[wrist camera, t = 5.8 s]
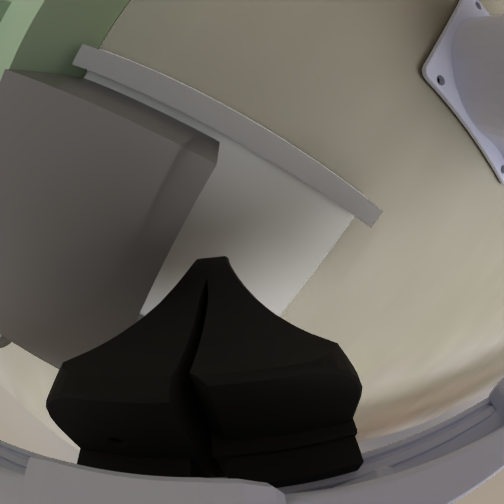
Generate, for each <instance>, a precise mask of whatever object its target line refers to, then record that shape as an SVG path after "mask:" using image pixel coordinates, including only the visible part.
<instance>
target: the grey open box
mask: <svg viewBox="0 0 504 504" xmlns="http://www.w3.org/2000/svg"><path fill="white" fill-rule="evenodd" d="M219 144H220V142H219V141H217V140H215V139H214V138H212V137H210V136H208V135H206V134H204V133H202V132H200V131H198V130H197V129H195V128H193V127H191V126H189V125H187V124H185V123H183V122H181V121H179V120H177V119H175V118H173V117H171V116H169V115H167V114H165V113H163V112H161V111H159V110H157V109H154V108H152V107H150V106H148V105H146V104H144V103H142V102H139V101H137V100H135V99H133V98H131V97H128V96H126V95H124V94H122V93H119V92H117V91H115V90H112V89H110V88H108V87H105V86H103V85H101V84H98V83H96V82H93V81H91V80H88V79H86V78H80V77H74V76H68V75H61V74H54V73H46V72H37V71H27V70H15V69H5V70H4V73H3V75H2V78H1V81H0V334H1V335H3V336H4V337H6V338H7V339H9V340H10V341H12V342H13V343H15V344H16V345H18V346H20V347H21V348H23V349H25V350H26V351H28V352H30V353H31V354H33V355H35V356H36V357H38V358H40V359H42V360H43V361H45V362H47V363H49V364H51V365H52V366H54V367H56V368H58V369H60V367H61V365H62V363H63V362H65V361H67V360H70V359H72V358H74V357H76V356H79V355H81V354H83V353H85V352H88V351H90V350H92V349H94V348H96V347H98V346H100V345H102V344H103V343H105V342H107V341H109V340H110V339H112V338H114V337H115V336H117V335H119V334H120V333H122V332H123V331H125V330H126V329H127V328H129V327H130V326H132V325H133V324H134V323H136V320H137V318H138V316H139V314H140V311H141V309H142V307H143V305H144V303H145V301H146V298H147V296H148V294H149V292H150V290H151V288H152V286H153V284H154V281H155V279H156V277H157V275H158V273H159V271H160V269H161V267H162V265H163V263H164V261H165V259H166V257H167V255H168V253H169V251H170V249H171V247H172V245H173V243H174V241H175V239H176V237H177V236H178V234H179V232H180V230H181V228H182V226H183V224H184V222H185V220H186V219H187V217H188V215H189V213H190V211H191V209H192V207H193V206H194V204H195V202H196V200H197V198H198V197H199V195H200V193H201V191H202V189H203V188H204V186H205V184H206V182H207V181H208V179H209V177H210V175H211V174H212V172H213V170H214V169H215V167H216V165H217V159H218V152H219Z"/></svg>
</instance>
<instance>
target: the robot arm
mask: <svg viewBox="0 0 504 504" xmlns="http://www.w3.org/2000/svg"><path fill="white" fill-rule="evenodd" d="M422 74H423V77H424V78H425V80H426V81H427V82H428V83H429V84H430V85H431V86H432V87H433V88H434V90H435V91H436V92H437V93H438V94H439V95H440V96H441V98H442V99H443V100H444V101H445V102H446V104H447V105H448V106H449V107H450V108H451V110H452V111H453V112H454V114H455V115H456V116H457V117H458V119H459V120H460V121H461V123H462V124H463V125H464V127H465V128H466V129H467V131H468V132H469V133H470V135H471V136H472V138H473V139H474V141H475V142H476V144H477V145H478V146H479V148H480V149H481V151H482V153H483V154H484V156H485V157H486V159H487V160H488V162H489V164H490V165H491V167H492V169H493V170H494V172H495V174H496V175H497V177H498V179H499V181H500V182H501V184H502V185H503V186H504V14H502V15H493V16H490V14H489V13H488V12H487V10H486V9H485V8H484V7H483V5H482V4H481V3H480V2H479V0H460V1H459V3H458V4H457V6H456V8H455V10H454V12H453V14H452V16H451V17H450V19H449V21H448V23H447V25H446V26H445V28H444V30H443V32H442V34H441V35H440V37H439V39H438V41H437V42H436V44H435V46H434V48H433V49H432V51H431V53H430V55H429V56H428V58H427V60H426V61H425V63H424V65H423V67H422ZM437 76H438V78H439V81H440V83H439V84H438V82H437ZM361 393H362V385H361V382H360V379H359V377H358V374H357V372H356V371H355V369H354V367H353V365H352V364H351V362H350V361H349V359H348V358H347V356H346V355H345V353H344V352H343V350H342V349H341V348H340V346H339V345H338V344H337V343H335V342H332V341H330V340H327V339H324V338H321V337H319V336H316V335H313V334H311V333H308V332H306V331H304V330H302V329H300V328H298V327H296V326H294V325H292V324H290V323H288V322H287V321H285V320H284V319H282V318H280V317H279V316H277V315H276V314H274V313H273V312H272V311H270V310H269V309H268V308H267V307H265V306H264V305H263V304H262V303H261V302H260V301H259V300H258V299H256V298H255V297H254V296H253V294H252V293H251V292H250V291H249V290H248V289H247V288H246V287H245V285H244V284H243V283H242V282H241V280H240V279H239V278H238V276H237V275H236V273H235V272H234V270H233V268H232V267H231V265H230V262H229V258H227V257H226V256H220V257H211V258H201V259H197V260H196V261H195V262H194V263H193V264H192V266H191V267H190V268H189V270H188V271H187V272H186V273H185V275H184V276H183V277H182V278H181V280H180V281H179V282H178V283H177V284H176V286H175V287H174V288H173V289H172V290H171V291H170V292H169V293H168V294H167V296H166V297H165V298H164V299H163V300H162V301H161V302H160V303H159V304H158V305H157V306H156V307H154V308H153V309H152V310H151V311H150V312H149V313H147V314H146V315H145V316H144V317H143V318H141V319H140V320H139V321H137V322H136V323H134V324H133V325H132V326H130V327H129V328H127V329H126V330H125V331H123V332H122V333H120V334H119V335H117V336H115V337H114V338H112V339H110V340H109V341H107V342H105V343H103V344H102V345H100V346H98V347H96V348H94V349H92V350H90V351H88V352H85V353H83V354H81V355H79V356H76V357H74V358H72V359H70V360H67V361H65V362H63V363H62V365H61V367H60V370H59V372H58V374H57V376H56V379H55V381H54V383H53V386H52V388H51V390H50V393H49V395H48V398H47V400H46V408H47V410H48V412H49V415H50V417H51V418H52V419H53V421H54V422H55V423H56V424H57V426H58V427H59V428H60V429H61V430H62V431H63V432H64V433H65V434H66V435H67V436H68V437H69V438H70V439H71V440H73V441H74V442H75V443H76V444H77V445H78V446H79V447H80V448H81V449H80V453H79V457H78V462H77V464H74V463H69V462H65V461H61V460H58V459H54V458H49V457H45V456H42V455H39V454H36V453H33V452H30V451H27V450H24V449H21V448H18V447H16V446H13V445H11V444H8V443H6V442H3V441H1V440H0V504H452V503H454V502H456V501H458V500H459V499H461V498H462V497H464V496H466V495H467V494H469V493H470V492H471V491H473V490H475V489H476V488H477V487H479V486H480V485H482V484H483V483H485V482H486V481H487V480H489V479H490V478H491V477H493V476H494V475H495V474H497V473H498V472H499V471H501V470H502V469H503V468H504V378H503V379H502V380H500V381H499V382H498V383H497V385H496V386H495V387H494V388H493V390H492V391H491V393H490V394H489V397H488V398H487V399H485V400H483V401H481V402H480V403H478V404H476V405H474V406H473V407H471V408H469V409H467V410H465V411H464V412H462V413H460V414H458V415H456V416H454V417H452V418H451V419H448V420H446V421H444V422H442V423H440V424H438V425H436V426H434V427H431V428H429V429H427V430H425V431H422V432H420V433H418V434H415V435H413V436H410V437H408V438H406V439H403V440H400V441H398V442H395V443H392V444H389V445H387V446H384V447H381V448H378V449H375V450H372V451H368V452H365V453H362V454H361V452H360V449H359V446H358V443H357V440H356V438H355V435H356V434H357V428H356V426H355V423H354V420H353V416H354V414H355V411H356V408H357V406H358V403H359V400H360V397H361Z"/></svg>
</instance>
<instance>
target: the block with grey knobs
mask: <svg viewBox="0 0 504 504" xmlns="http://www.w3.org/2000/svg"><path fill="white" fill-rule="evenodd" d="M129 1H130V0H0V81H1V78H2V75H3V73H4V70H5V69H15V70H27V71H37V72H46V73H54V74H61V75H68V76H74V77H80V78H83V76H84V74H85V72H86V70H88V72H87V74H86V75H85V77H84V78H86V79H88V80H91V81H93V82H96V83H98V84H101V85H103V86H105V87H108V88H110V89H112V90H115V91H117V92H119V93H122V94H124V95H126V96H128V97H131V98H133V99H135V100H137V101H139V102H142V103H144V104H146V105H148V106H150V107H152V108H154V109H157V110H159V111H161V112H163V113H165V114H167V115H169V116H171V117H173V118H175V119H177V120H179V121H181V122H183V123H185V124H187V125H189V126H191V127H193V128H195V129H197V130H198V131H200V132H202V133H204V134H206V135H208V136H210V137H212V138H214V139H215V140H217V141H219V142H220V144H219V152H218V159H217V165H216V167H215V169H214V170H213V172H212V174H211V175H210V177H209V179H208V181H207V182H206V184H205V186H204V188H203V189H202V191H201V193H200V195H199V197H198V198H197V200H196V202H195V204H194V206H193V207H192V209H191V211H190V213H189V215H188V217H187V219H186V220H185V222H184V224H183V226H182V228H181V230H180V232H179V234H178V236H177V237H176V239H175V241H174V243H173V245H172V247H171V249H170V251H169V253H168V255H167V257H166V259H165V261H164V263H163V265H162V267H161V269H160V271H159V273H158V275H157V277H156V279H155V281H154V284H153V286H152V288H151V290H150V292H149V294H148V296H147V298H146V301H145V303H144V305H143V307H142V309H141V311H140V314H139V316H138V318H137V320H136V322H137V321H139V320H140V319H141V318H143V317H144V316H145V315H146V314H147V313H149V312H150V311H151V310H152V309H153V308H154V307H156V306H157V305H158V304H159V303H160V302H161V301H162V300H163V299H164V298H165V297H166V296H167V294H168V293H169V292H170V291H171V290H172V289H173V288H174V287H175V286H176V284H177V283H178V282H179V281H180V280H181V278H182V277H183V276H184V275H185V273H186V272H187V271H188V270H189V268H190V267H191V266H192V264H193V263H194V262H195V261H196V260H197V259H201V258H211V257H220V256H226V257H227V258H229V262H230V265H231V267H232V268H233V270H234V272H235V273H236V275H237V276H238V278H239V279H240V280H241V282H242V283H243V284H244V285H245V287H246V288H247V289H248V290H249V291H250V292H251V293H252V294H253V296H254V297H255V298H256V299H258V300H259V301H260V302H261V303H262V304H263V305H264V306H265V307H267V308H268V309H269V310H270V311H272V312H273V313H274V314H276V315H277V316H280V315H281V313H282V312H283V311H284V310H285V308H286V307H287V306H288V305H289V303H290V302H291V301H292V300H293V298H294V297H295V296H296V295H297V293H298V292H299V291H300V289H301V288H302V287H303V286H304V284H305V283H306V282H307V280H308V279H309V278H310V277H311V275H312V274H313V273H314V271H315V270H316V269H317V267H318V266H319V265H320V263H321V262H322V261H323V259H324V258H325V257H326V255H327V254H328V253H329V251H330V250H331V249H332V247H333V246H334V245H335V243H336V242H337V240H338V239H339V238H340V236H341V235H342V234H343V232H344V231H345V229H346V228H347V227H348V225H349V224H350V222H351V221H352V220H353V218H354V217H355V216H356V217H357V218H358V219H360V220H361V221H362V222H364V223H365V224H367V225H368V226H369V227H372V226H373V225H374V223H375V222H376V220H377V219H378V218H379V216H380V215H381V213H382V212H383V211H382V210H381V209H379V208H378V207H377V206H375V205H374V204H373V203H372V202H370V201H369V200H368V199H367V197H366V196H365V195H363V194H362V193H361V192H359V191H358V190H357V189H355V188H354V187H353V186H351V185H350V184H349V183H347V182H346V181H345V180H343V179H342V178H341V177H339V176H338V175H336V174H335V173H334V172H332V171H331V170H329V169H328V168H327V167H325V166H324V165H322V164H321V163H319V162H318V161H316V160H315V159H314V158H312V157H311V156H309V155H308V154H306V153H305V152H303V151H302V150H300V149H299V148H297V147H295V146H294V145H292V144H291V143H289V142H288V141H286V140H285V139H283V138H281V137H280V136H278V135H277V134H275V133H273V132H272V131H270V130H268V129H267V128H265V127H263V126H262V125H260V124H258V123H257V122H255V121H253V120H252V119H250V118H248V117H246V116H245V115H243V114H241V113H239V112H238V111H236V110H234V109H232V108H230V107H229V106H227V105H225V104H223V103H221V102H219V101H217V100H216V99H214V98H212V97H210V96H208V95H206V94H204V93H202V92H200V91H198V90H196V89H194V88H192V87H190V86H188V85H186V84H184V83H182V82H180V81H178V80H176V79H173V78H171V77H169V76H167V75H165V74H162V73H160V72H158V71H156V70H153V69H151V68H149V67H146V66H144V65H142V64H139V63H137V62H134V61H132V60H130V59H127V58H124V57H122V56H119V55H117V54H114V53H111V52H109V51H106V50H103V49H100V50H99V49H98V48H99V47H100V45H101V43H102V42H103V40H104V38H105V37H106V35H107V33H108V32H109V30H110V29H111V27H112V25H113V24H114V22H115V21H116V19H117V18H118V16H119V15H120V13H121V12H122V11H123V9H124V8H125V6H126V5H127V4H128V2H129ZM11 342H12V341H10V340H9V339H7V338H6V337H4V336H3V335H1V334H0V348H2V347H5V346H7V345H8V344H10V343H11Z"/></svg>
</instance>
